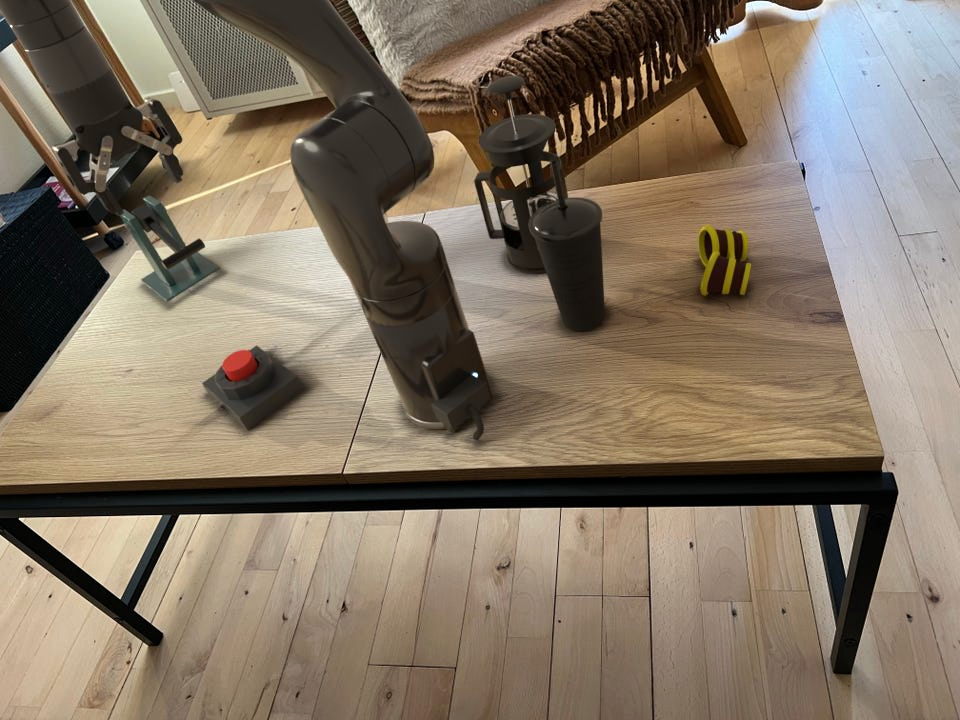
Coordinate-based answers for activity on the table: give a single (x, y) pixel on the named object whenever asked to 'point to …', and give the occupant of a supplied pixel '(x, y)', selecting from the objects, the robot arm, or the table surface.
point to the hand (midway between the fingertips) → (149, 196)
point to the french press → (516, 147)
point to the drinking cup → (572, 256)
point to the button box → (254, 390)
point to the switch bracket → (161, 279)
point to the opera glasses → (723, 260)
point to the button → (239, 365)
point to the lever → (166, 237)
